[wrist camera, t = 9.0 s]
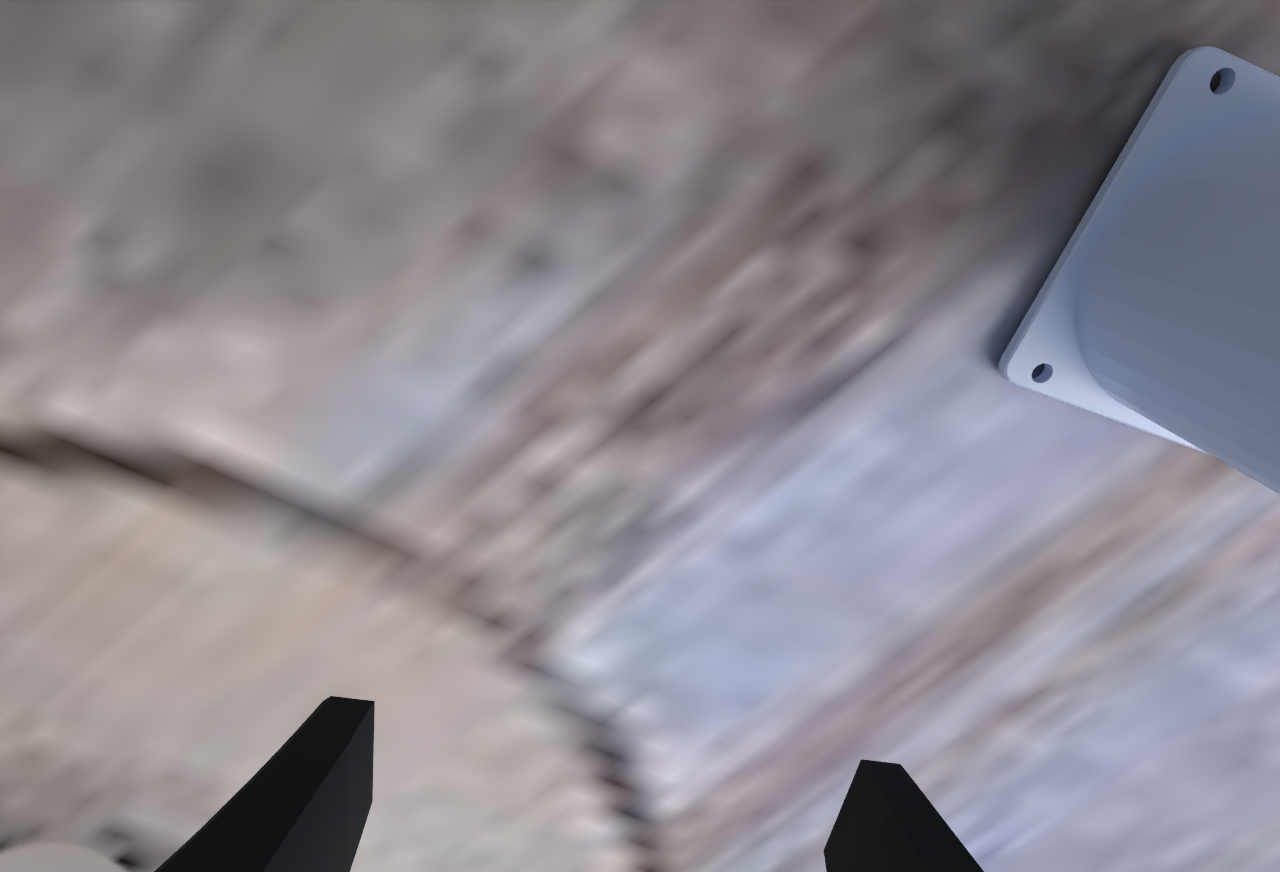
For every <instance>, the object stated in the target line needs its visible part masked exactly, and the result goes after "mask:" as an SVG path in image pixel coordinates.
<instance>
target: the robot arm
mask: <svg viewBox="0 0 1280 872" xmlns="http://www.w3.org/2000/svg"><path fill="white" fill-rule="evenodd" d="M1217 71H1219V72H1220V73H1221V82H1220V85H1219V87H1218V88H1217V89H1216V90H1215V91H1214V93H1213V92H1212V91H1211V90H1210V81H1211V79H1212V76H1213V75H1214V74H1215V73H1216V72H1217ZM1042 363H1044V366H1045V367H1044V370H1043V372H1042V373H1041V374H1040V375H1039V376H1037V377H1035V378H1032V372H1033V370H1034V369H1035V368H1036V367H1037V366H1038V365H1040V364H1042ZM999 372H1000V374H1001V375H1002V377H1004V378H1005V379H1007V380H1008V381H1010V382H1011V383H1013V384H1015V385H1017V386H1020V387H1023V388H1026V389H1029V390H1031V391H1034V392H1037V393H1040V394H1042V395H1045V396H1048V397H1051V398H1053V399H1056V400H1059V401H1062V402H1065V403H1067V404H1070V405H1073V406H1076V407H1078V408H1081V409H1084V410H1087V411H1090V412H1092V413H1095V414H1098V415H1101V416H1103V417H1106V418H1109V419H1112V420H1115V421H1117V422H1120V423H1123V424H1126V425H1128V426H1131V427H1134V428H1137V429H1140V430H1142V431H1145V432H1148V433H1151V434H1153V435H1156V436H1159V437H1162V438H1164V439H1167V440H1170V441H1173V442H1176V443H1178V444H1181V445H1184V446H1187V447H1189V448H1192V449H1195V450H1198V451H1201V452H1203V453H1206V454H1209V455H1212V456H1214V457H1215V458H1217V459H1219V460H1221V461H1222V462H1224V463H1226V464H1228V465H1229V466H1231V467H1233V468H1235V469H1236V470H1238V471H1240V472H1242V473H1243V474H1245V475H1247V476H1249V477H1251V478H1252V479H1254V480H1256V481H1258V482H1259V483H1261V484H1263V485H1265V486H1266V487H1268V488H1270V489H1272V490H1273V491H1275V492H1277V493H1279V494H1280V76H1277V75H1275V74H1273V73H1271V72H1269V71H1267V70H1264V69H1262V68H1260V67H1258V66H1256V65H1254V64H1251V63H1249V62H1247V61H1245V60H1243V59H1241V58H1238V57H1236V56H1234V55H1232V54H1230V53H1228V52H1225V51H1223V50H1221V49H1219V48H1217V47H1211V46H1204V47H1197V48H1194V49H1190V50H1188V51H1186V52H1185V53H1183V54H1182V55H1180V56H1179V57H1178V58H1177V60H1176V61H1175V62H1174V63H1173V65H1172V66H1171V68H1170V70H1169V71H1168V73H1167V75H1166V77H1165V78H1164V80H1163V82H1162V83H1161V85H1160V87H1159V89H1158V90H1157V92H1156V94H1155V95H1154V97H1153V99H1152V100H1151V102H1150V104H1149V106H1148V107H1147V109H1146V111H1145V112H1144V114H1143V116H1142V118H1141V119H1140V121H1139V123H1138V124H1137V126H1136V128H1135V129H1134V131H1133V133H1132V135H1131V136H1130V138H1129V140H1128V141H1127V143H1126V145H1125V147H1124V148H1123V150H1122V152H1121V153H1120V155H1119V157H1118V158H1117V160H1116V162H1115V164H1114V165H1113V167H1112V169H1111V170H1110V172H1109V174H1108V176H1107V177H1106V179H1105V181H1104V182H1103V184H1102V186H1101V187H1100V189H1099V191H1098V193H1097V194H1096V196H1095V198H1094V199H1093V201H1092V203H1091V205H1090V206H1089V208H1088V210H1087V211H1086V213H1085V215H1084V216H1083V218H1082V220H1081V222H1080V223H1079V225H1078V227H1077V228H1076V230H1075V232H1074V234H1073V235H1072V237H1071V239H1070V240H1069V242H1068V244H1067V245H1066V247H1065V249H1064V251H1063V252H1062V254H1061V256H1060V257H1059V259H1058V261H1057V263H1056V264H1055V266H1054V268H1053V269H1052V271H1051V273H1050V274H1049V276H1048V278H1047V280H1046V281H1045V283H1044V285H1043V286H1042V288H1041V290H1040V292H1039V293H1038V295H1037V297H1036V298H1035V300H1034V302H1033V303H1032V305H1031V307H1030V309H1029V310H1028V312H1027V314H1026V315H1025V317H1024V319H1023V321H1022V322H1021V324H1020V326H1019V327H1018V329H1017V331H1016V332H1015V334H1014V336H1013V338H1012V339H1011V341H1010V343H1009V344H1008V346H1007V348H1006V350H1005V351H1004V353H1003V355H1002V356H1001V359H1000V362H999ZM373 744H374V701H368V700H359V699H351V698H342V697H334V696H330V697H329V698H327V699H326V700H324V701H323V702H322V703H321V704H320V705H319V706H318V707H317V708H316V710H315V711H314V712H313V713H312V714H311V715H310V716H309V717H308V719H307V720H306V721H305V722H304V723H303V724H302V725H301V726H300V727H299V729H298V730H297V731H296V732H295V733H294V734H293V735H292V736H291V737H290V738H289V739H288V740H287V742H286V743H285V744H284V745H283V746H282V747H281V748H280V749H279V750H278V751H277V752H276V753H275V754H274V755H273V756H272V757H271V759H270V760H269V761H268V762H267V763H266V764H265V765H264V766H263V767H262V768H261V769H260V770H259V771H258V772H257V773H256V774H255V775H254V776H253V777H252V778H251V779H250V780H249V781H248V782H247V783H246V784H245V785H244V786H243V787H242V788H241V789H240V790H239V791H238V792H237V793H236V794H235V795H234V796H233V797H232V798H231V799H230V800H229V801H228V802H227V803H226V804H225V805H224V806H223V807H222V808H221V809H220V810H219V811H218V812H217V813H216V814H215V815H214V816H213V817H212V818H211V819H210V820H209V821H208V822H207V823H206V824H205V825H204V826H203V827H202V828H201V829H200V830H199V831H198V832H197V833H196V834H195V835H193V836H192V837H191V838H190V839H189V840H188V841H187V842H186V843H185V844H184V845H183V846H182V847H181V848H180V849H178V850H177V851H176V852H175V853H174V854H173V855H172V856H171V857H170V858H169V859H168V860H166V861H165V862H164V863H163V864H162V865H161V866H160V867H159V868H158V869H157V870H155V871H154V872H350V869H351V866H352V863H353V860H354V857H355V854H356V851H357V848H358V845H359V842H360V839H361V835H362V832H363V829H364V826H365V823H366V820H367V816H368V813H369V810H370V807H371V804H372V790H373ZM824 856H825V863H826V870H827V872H984V871H983V870H982V869H981V867H980V866H979V865H978V864H977V862H976V861H975V860H974V858H973V857H972V856H971V855H970V853H969V852H968V851H967V849H966V848H965V847H964V846H963V844H962V843H961V842H960V840H959V839H958V838H957V837H956V835H955V834H954V833H953V831H952V830H951V829H950V828H949V826H948V825H947V824H946V822H945V821H944V820H943V818H942V817H941V816H940V815H939V813H938V812H937V811H936V809H935V808H934V807H933V805H932V804H931V803H930V801H929V800H928V799H927V798H926V796H925V795H924V794H923V792H922V791H921V790H920V789H919V787H918V786H917V785H916V783H915V782H914V781H913V780H912V778H911V777H910V776H909V774H908V773H907V772H906V771H905V769H904V768H903V767H902V766H901V764H895V763H887V762H878V761H870V760H861V761H860V764H859V766H858V769H857V771H856V773H855V776H854V778H853V781H852V783H851V786H850V788H849V790H848V793H847V795H846V798H845V800H844V803H843V805H842V807H841V810H840V812H839V815H838V817H837V820H836V822H835V824H834V827H833V829H832V832H831V834H830V836H829V839H828V841H827V844H826V846H825V849H824Z"/></svg>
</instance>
